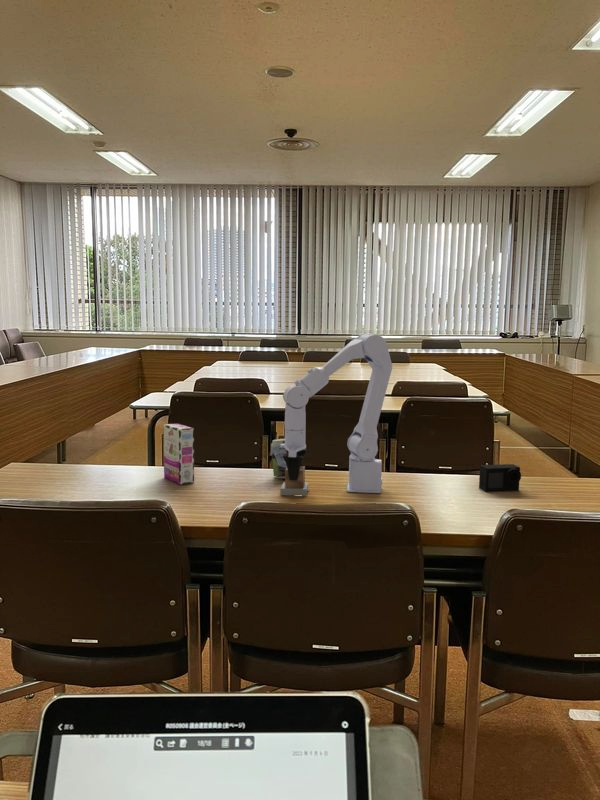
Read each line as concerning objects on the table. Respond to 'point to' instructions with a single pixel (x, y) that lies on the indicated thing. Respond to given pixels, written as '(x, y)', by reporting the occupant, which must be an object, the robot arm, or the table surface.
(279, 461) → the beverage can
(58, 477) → the table surface
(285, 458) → the robot arm
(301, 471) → the walnut block
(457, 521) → the table surface
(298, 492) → the plinth
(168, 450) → the candy bar box
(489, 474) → the digital camera
